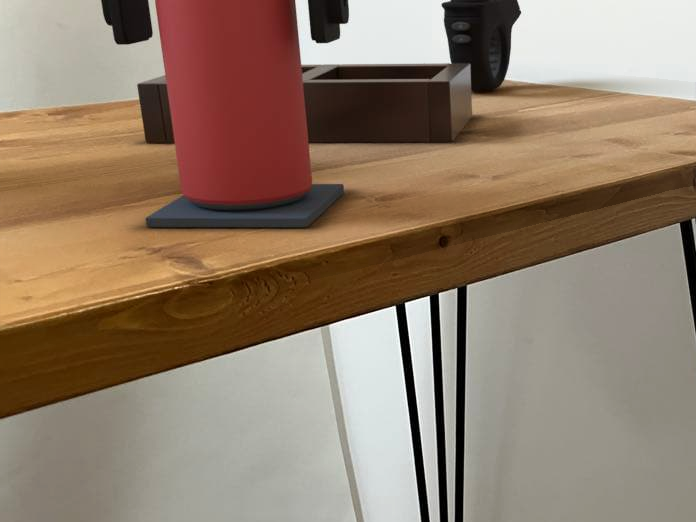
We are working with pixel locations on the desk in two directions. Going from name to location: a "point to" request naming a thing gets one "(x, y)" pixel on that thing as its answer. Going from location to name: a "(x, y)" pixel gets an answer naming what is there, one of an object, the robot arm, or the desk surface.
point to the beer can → (236, 101)
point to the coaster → (249, 212)
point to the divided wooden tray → (357, 103)
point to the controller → (481, 38)
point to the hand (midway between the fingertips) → (230, 41)
